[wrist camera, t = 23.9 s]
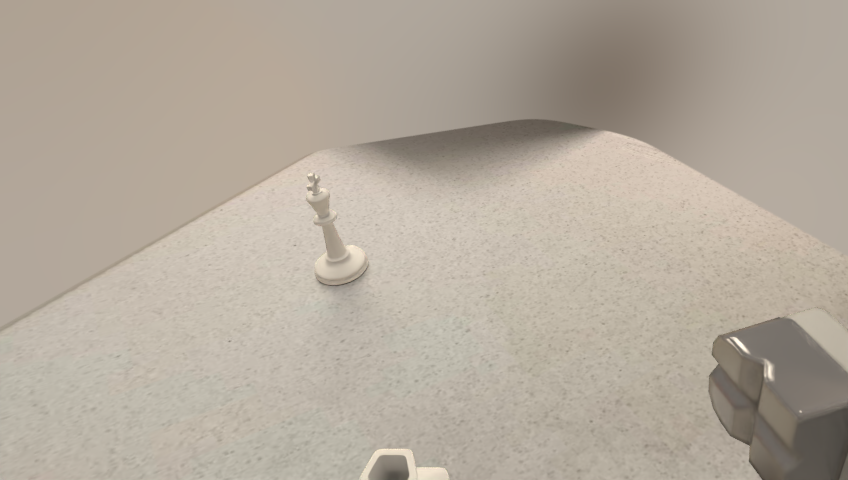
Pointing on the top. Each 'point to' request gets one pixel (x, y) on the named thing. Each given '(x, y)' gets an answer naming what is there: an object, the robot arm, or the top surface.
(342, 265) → the chess piece
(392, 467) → the white faceted vase
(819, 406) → the robot arm
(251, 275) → the top surface
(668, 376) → the top surface
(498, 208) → the top surface
